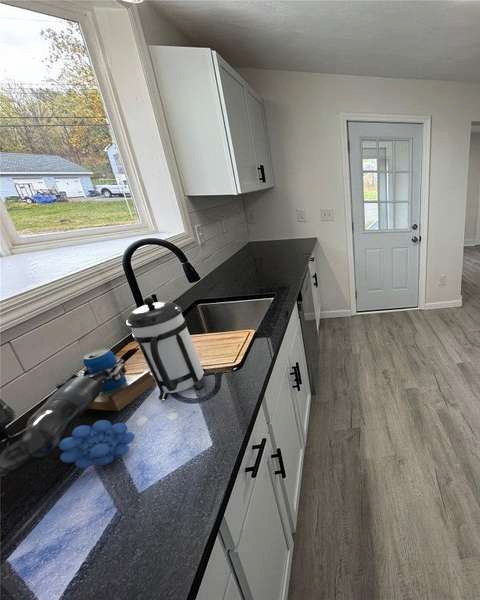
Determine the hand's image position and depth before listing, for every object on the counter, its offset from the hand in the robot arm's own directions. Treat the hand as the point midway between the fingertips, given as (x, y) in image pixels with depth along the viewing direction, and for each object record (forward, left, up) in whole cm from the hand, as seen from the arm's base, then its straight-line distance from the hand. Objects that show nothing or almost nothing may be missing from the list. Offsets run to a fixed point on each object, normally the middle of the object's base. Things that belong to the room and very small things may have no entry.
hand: (108, 363), depth 93 cm
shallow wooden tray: (-1, -2, -10) cm, 10 cm away
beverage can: (+1, -2, -7) cm, 8 cm away
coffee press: (+20, +3, -10) cm, 23 cm away
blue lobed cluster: (+24, -24, -10) cm, 35 cm away
